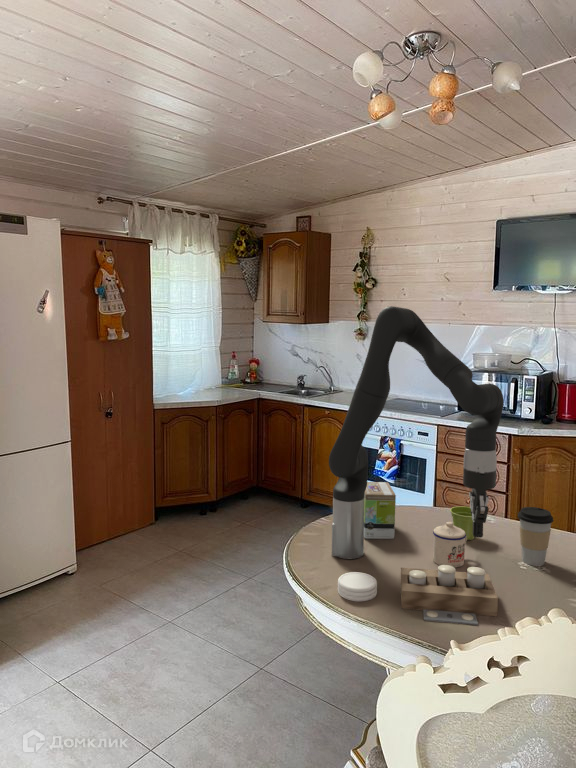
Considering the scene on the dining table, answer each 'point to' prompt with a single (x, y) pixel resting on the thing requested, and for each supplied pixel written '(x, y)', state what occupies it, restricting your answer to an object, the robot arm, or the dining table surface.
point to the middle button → (446, 575)
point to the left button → (417, 577)
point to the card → (450, 617)
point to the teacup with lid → (449, 545)
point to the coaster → (357, 586)
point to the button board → (448, 594)
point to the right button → (475, 578)
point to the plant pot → (463, 520)
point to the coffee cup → (534, 534)
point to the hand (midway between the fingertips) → (477, 536)
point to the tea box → (379, 511)
